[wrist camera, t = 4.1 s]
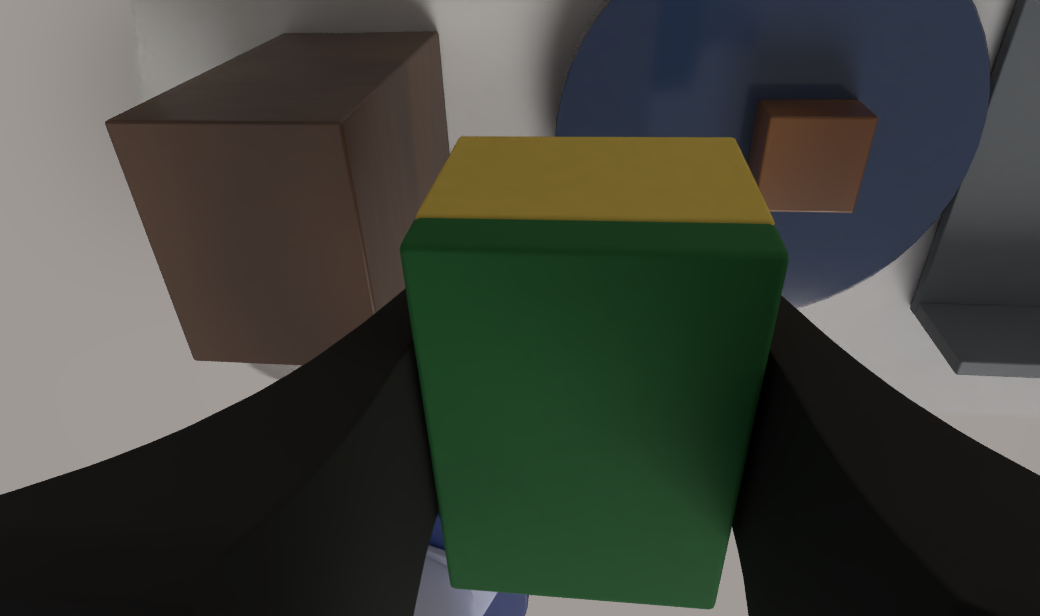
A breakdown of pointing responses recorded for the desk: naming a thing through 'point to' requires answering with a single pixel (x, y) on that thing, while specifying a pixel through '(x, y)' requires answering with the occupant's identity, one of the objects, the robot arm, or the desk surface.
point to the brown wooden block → (287, 187)
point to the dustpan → (994, 228)
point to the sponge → (592, 359)
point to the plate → (800, 76)
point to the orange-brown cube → (811, 153)
